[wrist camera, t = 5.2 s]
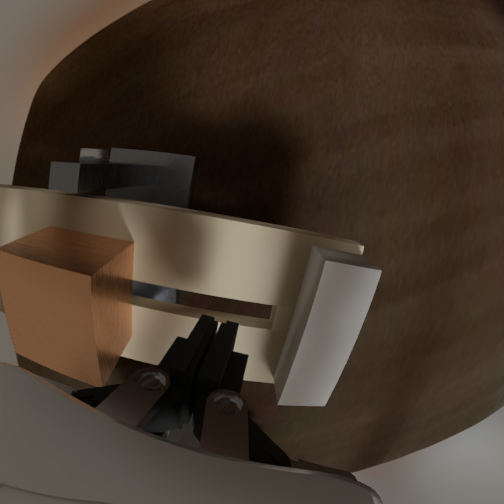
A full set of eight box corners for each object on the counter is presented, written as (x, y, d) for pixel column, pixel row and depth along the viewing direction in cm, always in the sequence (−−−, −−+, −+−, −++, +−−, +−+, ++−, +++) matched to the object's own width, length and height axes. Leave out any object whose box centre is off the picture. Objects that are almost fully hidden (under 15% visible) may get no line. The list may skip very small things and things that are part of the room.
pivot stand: (198, 157, 21) (128, 143, 11) (175, 332, 25) (125, 406, 15) (116, 148, 21) (27, 141, 11) (106, 309, 26) (42, 362, 16)
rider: (140, 237, 15) (90, 276, 9) (137, 327, 16) (102, 388, 11) (58, 222, 14) (-5, 249, 9) (62, 306, 16) (15, 352, 10)
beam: (356, 241, 16) (384, 260, 12) (310, 374, 18) (321, 411, 15) (-39, 181, 13) (-67, 187, 9) (-31, 285, 15) (-54, 300, 12)
